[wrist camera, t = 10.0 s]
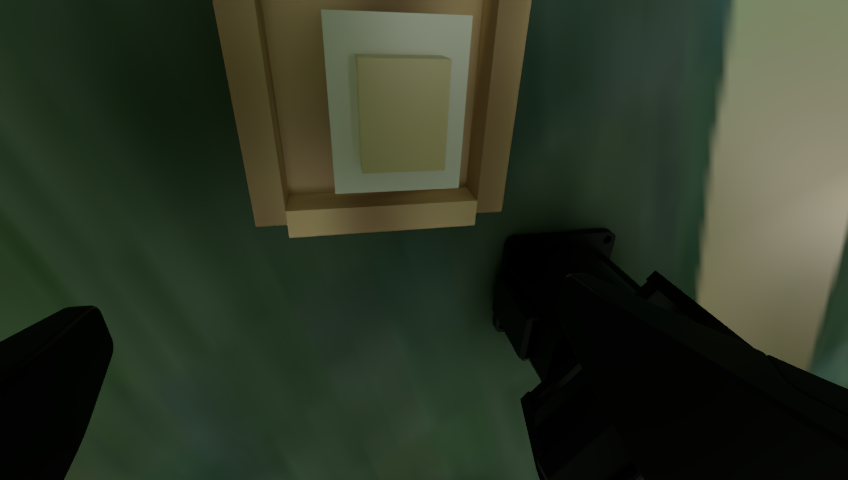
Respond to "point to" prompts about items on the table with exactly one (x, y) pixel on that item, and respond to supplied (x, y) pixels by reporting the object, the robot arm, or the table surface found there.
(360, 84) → the plug block
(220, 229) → the table surface
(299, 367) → the table surface
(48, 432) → the robot arm
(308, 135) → the wooden tray
